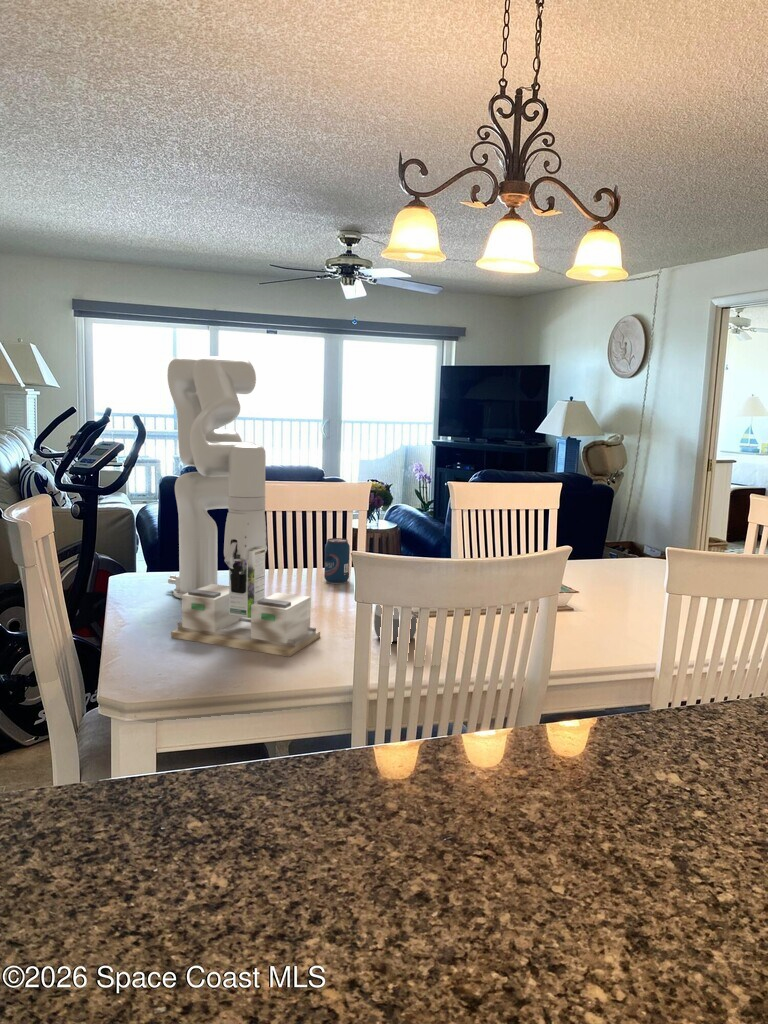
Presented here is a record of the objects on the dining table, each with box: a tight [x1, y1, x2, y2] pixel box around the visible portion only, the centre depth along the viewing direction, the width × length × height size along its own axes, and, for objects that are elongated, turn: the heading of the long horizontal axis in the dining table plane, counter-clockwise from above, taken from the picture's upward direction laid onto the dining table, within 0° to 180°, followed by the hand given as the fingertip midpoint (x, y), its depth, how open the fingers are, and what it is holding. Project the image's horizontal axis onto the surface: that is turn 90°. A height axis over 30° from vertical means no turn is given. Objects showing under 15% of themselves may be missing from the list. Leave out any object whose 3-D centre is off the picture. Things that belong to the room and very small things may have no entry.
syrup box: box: [228, 547, 266, 618], centre depth 155 cm, size 6×6×14 cm
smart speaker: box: [373, 604, 418, 644], centre depth 158 cm, size 10×9×14 cm
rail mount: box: [170, 584, 321, 657], centre depth 156 cm, size 28×14×10 cm, turn 70°
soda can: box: [324, 537, 351, 585], centre depth 207 cm, size 7×7×12 cm
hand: (246, 588), depth 155 cm, fingers closed on syrup box, 5 cm apart
